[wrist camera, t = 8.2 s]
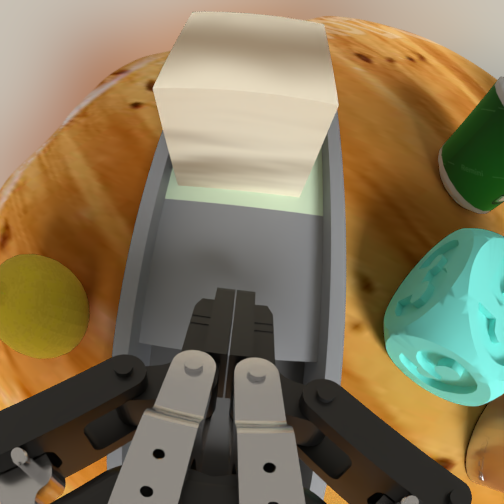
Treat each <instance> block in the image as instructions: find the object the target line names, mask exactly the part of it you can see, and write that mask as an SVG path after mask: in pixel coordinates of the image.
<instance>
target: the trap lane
mask: <svg viewBox="0 0 504 504" xmlns="http://www.w3.org/2000/svg"><path fill="white" fill-rule="evenodd" d="M217 287H219V288H227V289H235V299H234V308H233V317H232V326H231V335H230V343H229V351H228V359H227V367H226V375H225V384H224V392H223V398H219V397H217V401H216V408H215V411H214V413H213V419H212V423H211V427H210V431H209V436H208V440H207V444H206V449H205V453H204V457H203V463H202V471H201V473H203V474H206V475H209V476H226V475H228V416H229V407H230V399H229V398H225V391H226V381H227V372H228V363H229V353H230V345H231V337H232V328H233V320H234V312H235V303H236V295H237V290H244V291H253V292H255V305H264V306H268V308H269V309H270V311H271V312H272V314H273V326H274V348H275V364H276V367H277V369H278V371H279V372H280V373H281V374H282V375H283V376H284V377H286V378H288V379H289V380H292V381H294V382H298V383H301V384H304V385H307V384H308V383H309V382H310V381H312V380H315V379H328V380H331V381H334V382H336V383H337V384H339V385H340V384H341V373H342V361H343V346H344V329H345V304H346V221H345V197H344V179H343V164H342V152H341V141H340V130H339V121H338V112H337V111H336V113H335V115H334V118H333V120H332V123H331V125H330V127H329V130H328V132H327V134H326V137H325V139H324V142H323V144H322V146H321V149H320V151H319V153H318V156H317V158H316V160H315V163H314V165H313V167H312V170H311V172H310V174H309V177H308V179H307V181H306V184H305V186H304V188H303V190H302V193H301V195H300V197H292V196H283V195H275V194H266V193H257V192H248V191H238V190H228V189H217V188H205V187H193V186H179V185H178V183H177V180H176V176H175V173H174V169H173V166H172V162H171V158H170V155H169V151H168V147H167V143H166V140H165V136H164V132H163V130H162V133H161V136H160V139H159V142H158V145H157V148H156V152H155V155H154V158H153V161H152V164H151V168H150V171H149V174H148V178H147V181H146V185H145V188H144V192H143V195H142V199H141V203H140V207H139V211H138V215H137V219H136V223H135V227H134V231H133V235H132V240H131V244H130V249H129V253H128V258H127V263H126V268H125V273H124V278H123V284H122V289H121V295H120V301H119V307H118V314H117V320H116V327H115V335H114V343H113V351H112V357H114V356H117V355H122V354H128V355H133V356H136V357H138V358H139V359H140V360H142V361H143V363H144V364H145V366H155V365H163V364H167V363H170V362H172V360H173V358H174V357H175V356H176V355H177V354H179V353H181V350H182V347H183V343H184V340H185V337H186V333H187V330H188V326H189V324H190V320H191V316H192V313H193V310H194V306H195V305H196V304H197V303H198V302H199V301H200V300H201V299H202V298H205V299H213V300H215V295H216V291H217ZM131 442H132V440H131V441H130V442H128V443H127V444H125V445H123V446H122V447H120V448H118V449H117V450H115V451H113V452H111V453H110V454H108V455H107V470H109V469H111V468H114V467H117V466H120V465H123V462H124V460H125V457H126V455H127V452H128V450H129V447H130V445H131ZM298 458H299V457H298ZM299 465H300V471H301V478H302V484H303V487H305V488H307V489H309V490H310V491H312V492H314V493H315V494H316V495H318V496H319V497H320V498H321V499H322V500H323V499H324V494H325V489H326V483H325V482H324V481H323V480H322V479H321V478H320V477H319V476H318V475H317V474H316V473H315V472H314V471H313V470H311V469H310V468H309V467H308V466H307V465H306V464H305V463H304V462H303V461H302V460H301V459H300V458H299Z"/></svg>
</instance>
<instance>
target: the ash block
mask: <svg viewBox="0 0 504 504" xmlns="http://www.w3.org/2000/svg"><path fill="white" fill-rule="evenodd" d="M153 92H154V96H155V100H156V104H157V108H158V112H159V116H160V120H161V124H162V128H163V132H164V136H165V140H166V143H167V147H168V151H169V155H170V158H171V162H172V166H173V169H174V173H175V176H176V180H177V183H178V185H179V186H193V187H205V188H217V189H228V190H238V191H248V192H257V193H266V194H275V195H283V196H292V197H300V195H301V193H302V190H303V188H304V186H305V184H306V181H307V179H308V177H309V174H310V172H311V170H312V167H313V165H314V163H315V160H316V158H317V156H318V153H319V151H320V149H321V146H322V144H323V142H324V139H325V137H326V134H327V132H328V130H329V127H330V125H331V123H332V120H333V118H334V115H335V113H336V111H337V108H338V106H339V104H338V97H337V91H336V85H335V78H334V73H333V67H332V61H331V56H330V51H329V46H328V41H327V36H326V31H325V27H324V24H320V23H315V22H310V21H304V20H298V19H292V18H285V17H278V16H270V15H260V14H249V13H234V12H192V14H191V16H190V17H189V19H188V21H187V23H186V24H185V26H184V28H183V30H182V31H181V33H180V35H179V37H178V39H177V41H176V42H175V44H174V46H173V48H172V50H171V52H170V54H169V56H168V57H167V59H166V61H165V63H164V65H163V67H162V70H161V72H160V74H159V76H158V78H157V80H156V82H155V84H154V86H153Z"/></svg>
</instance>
